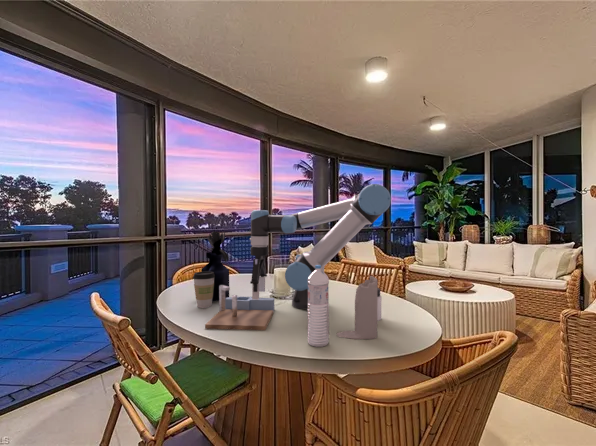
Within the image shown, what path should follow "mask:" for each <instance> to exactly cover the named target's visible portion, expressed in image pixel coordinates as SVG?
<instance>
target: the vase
mask: <svg viewBox="0 0 596 446" xmlns="http://www.w3.org/2000/svg"><path fill="white" fill-rule="evenodd" d="M211 229H212V231H213V232H211V233H209V235H207V240H208V243H209V244H210V246H211V247H210V249H209V250H211V251H210V252H205V254H206V258H205V259H208V263H207V264H206V265H204V266H203V267H201V272H204V271H210V272H214V275H215V278H214V289H213V298H212V303H215V302H219V286H220V285H225V286H228V287H230V269H229V268H228V267H227V266H225V265H224V264H223V263H222V259H223V261H224V262H225V263H226V262H227V261H229V255H228V253H227V251H225V250H223V249H222V247H221V245H222V243H223V242H224V241H225V238H226V232H225V231H223V232H221V233H220V232H219V231H216V230H218V227H216V228H215V229H216V230H215V229H214V228H213V227H211ZM227 297H230V290H228V291H225V299H226V298H227Z"/></svg>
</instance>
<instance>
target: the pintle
mask: <svg viewBox="0 0 596 446" xmlns="http://www.w3.org/2000/svg"><path fill="white" fill-rule="evenodd" d="M237 296H238V295H237V294H233V295H231V297H232V317H236V316H237Z"/></svg>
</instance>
